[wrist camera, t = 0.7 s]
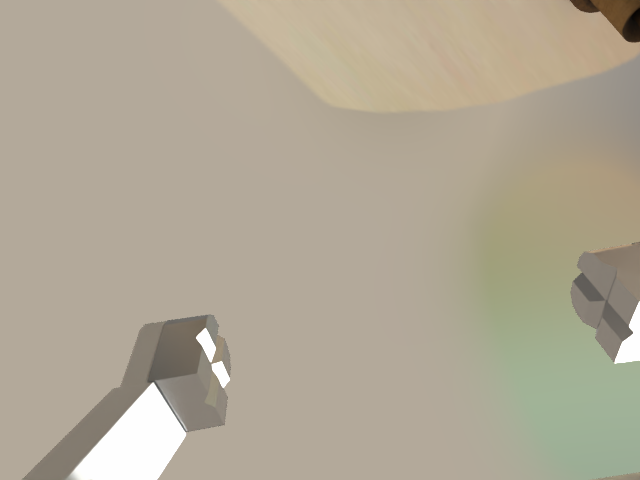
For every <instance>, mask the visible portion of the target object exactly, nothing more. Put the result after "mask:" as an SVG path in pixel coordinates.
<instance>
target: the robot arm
mask: <svg viewBox="0 0 640 480" xmlns="http://www.w3.org/2000/svg"><path fill="white" fill-rule="evenodd" d="M577 267H578V268H579V269H580V270H581V272H582V273H581V274H580V275H579V276H578V277H577V278H576V279H575V280H574V281H573V283H572V288H571V298H572V304H573V307H574V309H575V311H576V313H577V315H578V316H579V317H580V319H581V320H582V321H583V322H584V323H586V324H587V325H590V326H591V327H593V328H595V329H596V337H595V338H596V340H597V341H598V342H599V344H600V345H601V346H602V348H603V349H604V350H605V351H606V353H607V354H608V355H609V357H610V358H611V359H612V360H613V362H614V363H619V362H627V361H634V360H640V242H636V243H632V244H626V245H620V246H615V247H609V248H603V249H598V250H592V251H586V252H584V253H583V254H582V255H581V256H580V257H579V261H578V264H577ZM218 327H219V325H218V323H217V321H216V319H215V317H214V315H203V316H196V317H189V318H182V319H175V320H168V321H164V322H157V323H150V324H145V325H144V326H143V327H142V328H141V329H140V331H139V334H138V337H137V340H136V343H135V346H134V349H133V352H132V354H131V357H130V360H129V363H128V366H127V369H126V372H125V375H124V378H123V381H122V383H121V387H119V388H114V389H112V390H111V391H110V392H109V393H108V394H107V395H106V396H105V397H104V398H103V399H102V400H101V401H100V402H99V403H98V404H97V405H96V406H95V407H94V408H93V409H92V410H91V411H90V412H89V413H88V414H87V415H86V416H85V417H84V418H83V419H82V420H81V421H80V422H79V423H78V424H77V425H76V426H75V427H74V428H73V429H72V430H71V431H70V432H69V434H67V435H66V436H65V437H64V438H63V439H62V440H61V441H60V442H59V443H58V444H57V445H56V446H55V447H54V448H53V449H52V450H51V451H50V452H49V453H48V454H47V455H46V456H45V457H44V458H43V459H42V460H41V461H40V462H39V463H38V464H37V465H36V466H35V467H34V468H33V469H32V470H31V471H30V472H29V473H28V474H27V475H26V476H25V477H24V478H23V479H22V480H157V479H158V477H159V476H160V474H161V473H162V471H163V470H164V468H165V467H166V465H167V464H168V462H169V460H170V459H171V457H172V456H173V454H174V453H175V451H176V450H177V448H178V447H179V445H180V444H181V442H182V441H183V439H184V437H185V436H186V432H189V431H195V430H200V429H205V428H211V427H216V426H221V425H224V424H225V416H226V408H227V399H228V397H227V395H226V393H225V391H224V389H223V387H224V386H225V385H226V383H227V382H228V381H229V379H230V370H231V369H230V368H231V367H230V354H229V350H228V346H227V344H226V341H225V339H224V338H222V337H220V336H219V335H217V334H218ZM592 480H640V472H639V473H632V474H626V475H619V476H612V477H606V478H598V479H592Z"/></svg>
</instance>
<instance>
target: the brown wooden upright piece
mask: <svg viewBox="0 0 640 480" xmlns="http://www.w3.org/2000/svg"><path fill="white" fill-rule="evenodd" d="M570 1H571V2H572V3H573V5H574V6H575V7H576V8H577V9H579V10H581V11H583V12H588V13H593V12H599V11H600V12H601V13H602V14H603V15H604V16H605V17H606V18H607V19H608V20H609V22H610V23H611V24H612V25H613V26H614V27H615V28H616V30H617V31H618V32H619V33H620V34H621V35H622V37H623V38H624V39H625V40H626V41H628V42H640V0H570Z"/></svg>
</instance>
